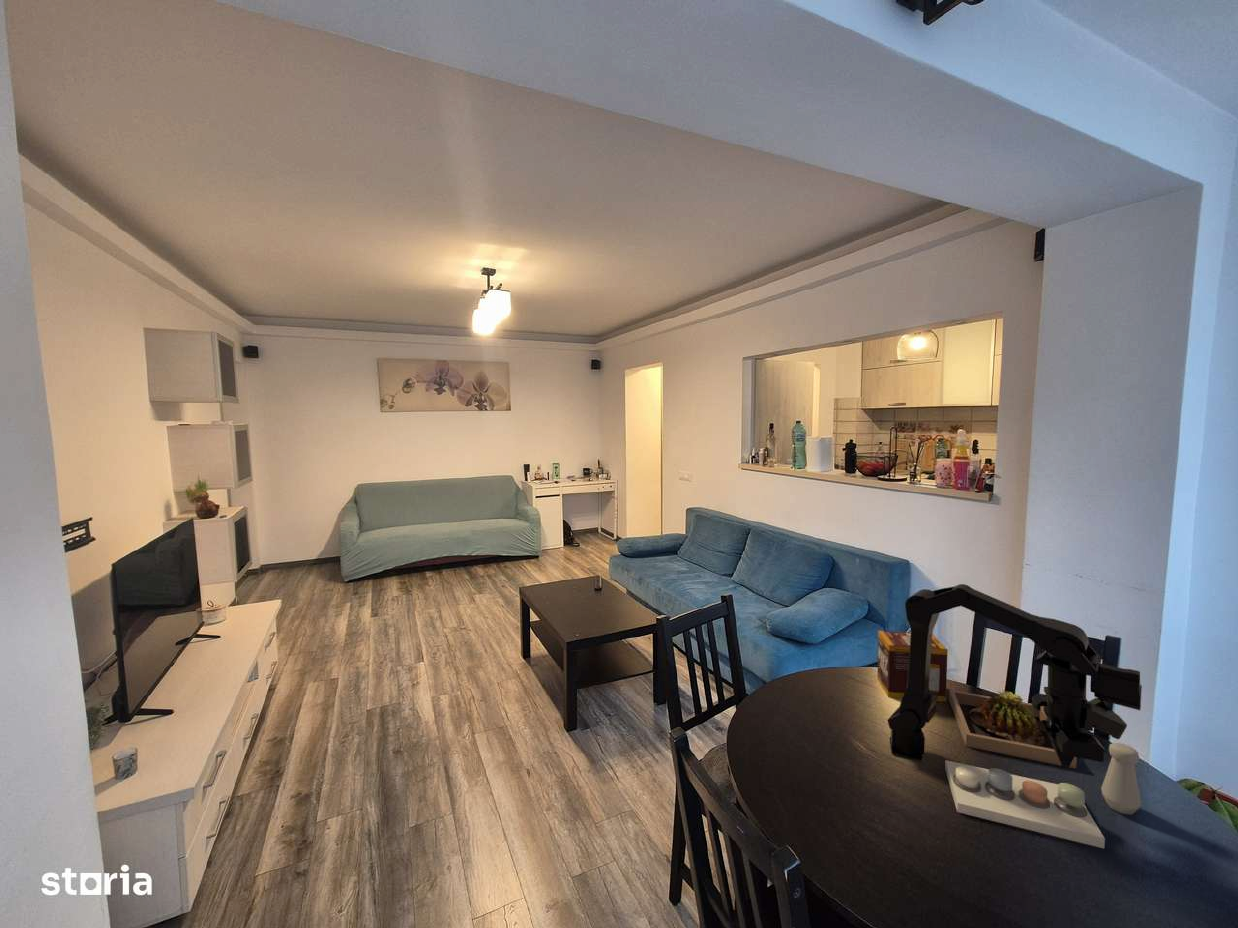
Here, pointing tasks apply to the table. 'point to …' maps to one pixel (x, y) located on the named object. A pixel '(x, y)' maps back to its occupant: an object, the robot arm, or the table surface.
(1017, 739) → the cactus
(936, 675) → the supplement box
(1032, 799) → the terracotta button
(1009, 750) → the planter tray
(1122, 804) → the salt shaker
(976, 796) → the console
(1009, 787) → the slate button
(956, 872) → the table surface
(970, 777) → the ivory button
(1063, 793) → the sage button
